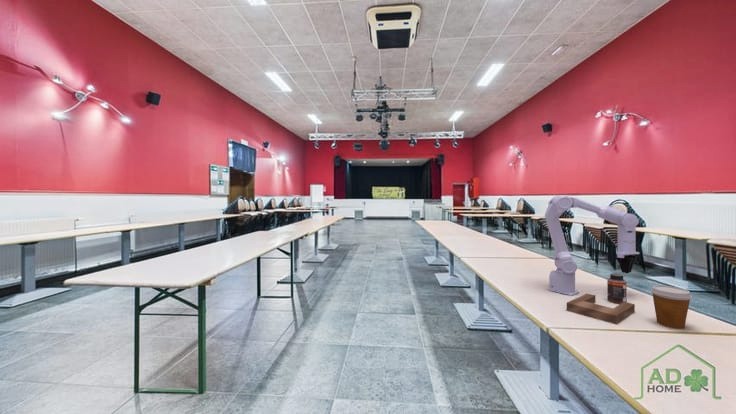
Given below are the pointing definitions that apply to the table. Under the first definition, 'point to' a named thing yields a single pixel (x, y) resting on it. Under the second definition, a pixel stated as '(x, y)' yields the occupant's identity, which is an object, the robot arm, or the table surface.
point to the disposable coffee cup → (671, 305)
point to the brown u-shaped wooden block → (600, 309)
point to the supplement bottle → (616, 289)
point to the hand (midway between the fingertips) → (626, 272)
